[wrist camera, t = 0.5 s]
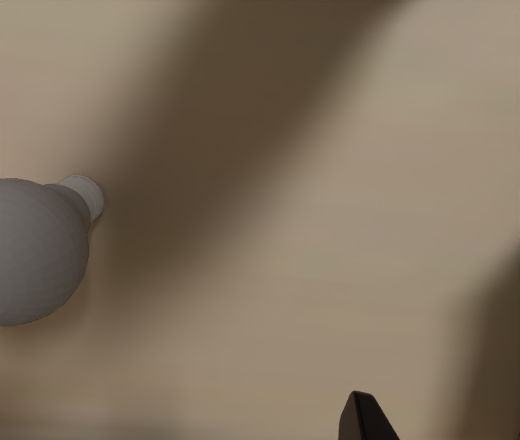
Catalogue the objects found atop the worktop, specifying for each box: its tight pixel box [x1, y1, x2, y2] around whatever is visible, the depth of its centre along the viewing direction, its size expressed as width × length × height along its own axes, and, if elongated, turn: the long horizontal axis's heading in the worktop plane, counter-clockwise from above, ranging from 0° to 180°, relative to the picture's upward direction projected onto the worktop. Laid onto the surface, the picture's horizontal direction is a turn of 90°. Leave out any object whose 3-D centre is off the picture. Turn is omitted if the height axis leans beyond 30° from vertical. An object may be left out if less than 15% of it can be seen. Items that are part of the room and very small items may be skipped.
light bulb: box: [0, 175, 104, 326], centre depth 20 cm, size 6×6×10 cm
